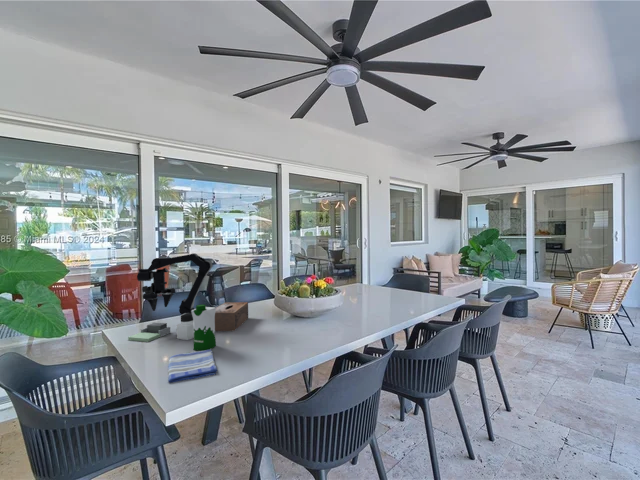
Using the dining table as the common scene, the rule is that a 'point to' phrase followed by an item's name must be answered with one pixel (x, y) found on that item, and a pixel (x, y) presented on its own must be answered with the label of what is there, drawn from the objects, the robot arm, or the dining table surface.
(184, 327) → the medicine bottle
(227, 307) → the tissue box cover
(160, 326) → the gray cuboid pillar
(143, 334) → the deck
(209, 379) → the dining table surface
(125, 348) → the dining table surface
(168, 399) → the dining table surface
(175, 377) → the dish towel
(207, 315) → the milk carton
